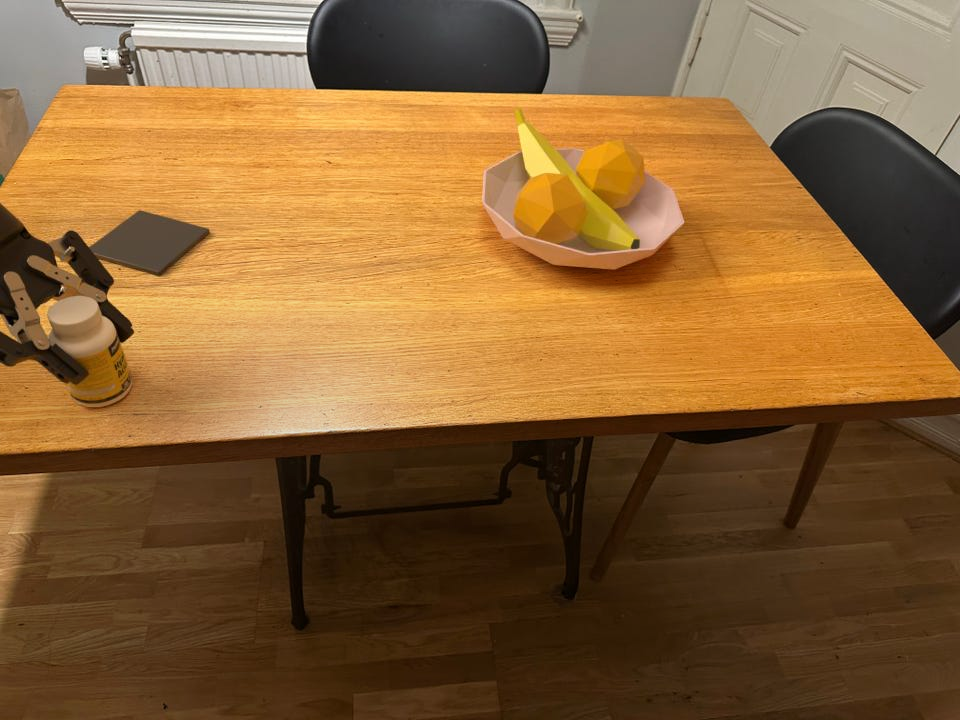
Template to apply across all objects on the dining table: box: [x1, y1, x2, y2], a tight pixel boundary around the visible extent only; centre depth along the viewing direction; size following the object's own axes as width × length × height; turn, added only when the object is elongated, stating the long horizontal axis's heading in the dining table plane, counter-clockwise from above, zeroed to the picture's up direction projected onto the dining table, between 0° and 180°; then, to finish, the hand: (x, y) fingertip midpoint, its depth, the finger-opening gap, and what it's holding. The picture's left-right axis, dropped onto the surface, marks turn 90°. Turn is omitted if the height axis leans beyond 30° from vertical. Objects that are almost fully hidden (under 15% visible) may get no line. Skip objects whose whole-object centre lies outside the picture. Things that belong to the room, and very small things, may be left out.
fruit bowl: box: [481, 108, 686, 270], centre depth 91 cm, size 28×27×11 cm
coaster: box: [88, 209, 211, 277], centre depth 84 cm, size 10×10×1 cm
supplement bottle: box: [46, 296, 133, 408], centre depth 63 cm, size 5×5×10 cm
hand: (106, 357), depth 63 cm, fingers closed on supplement bottle, 5 cm apart
